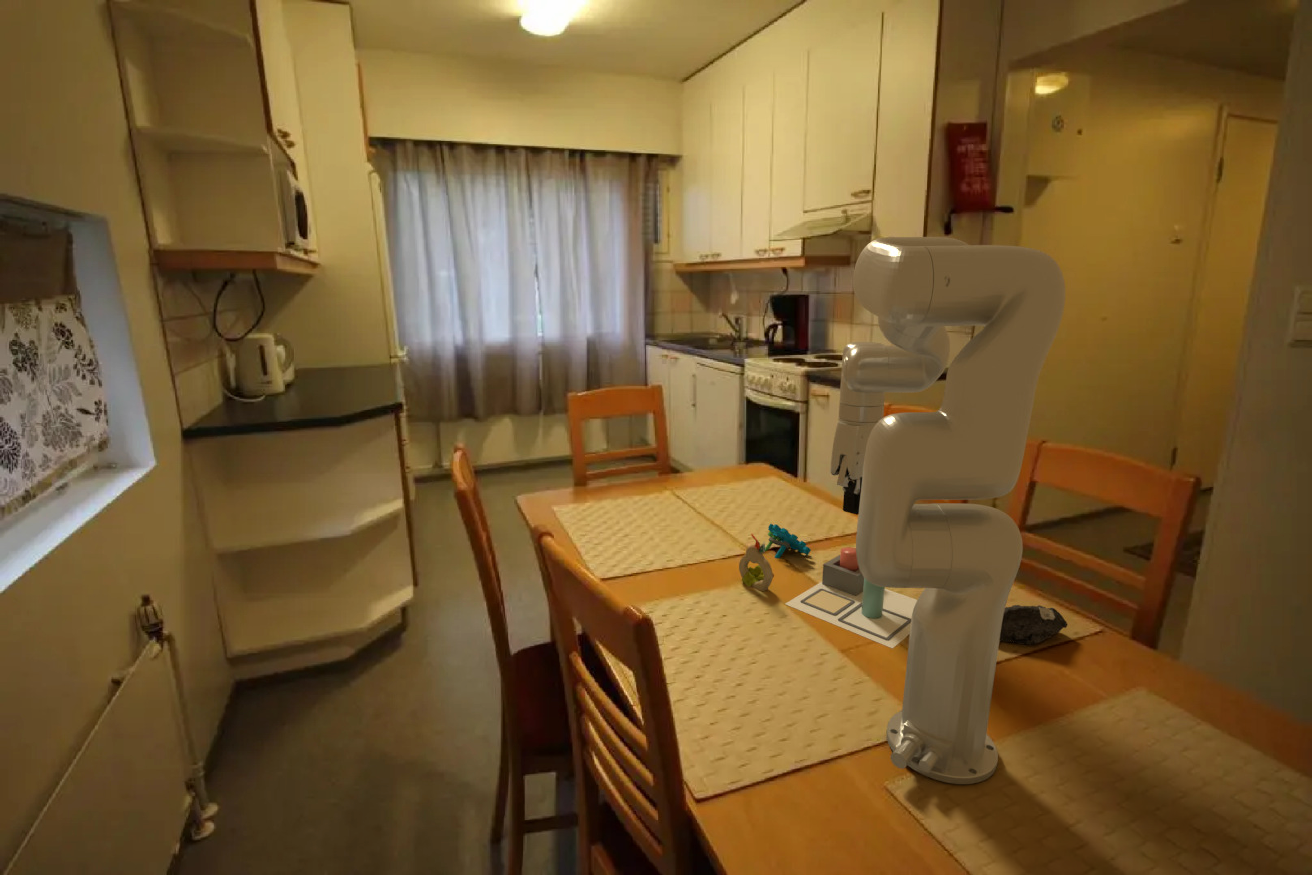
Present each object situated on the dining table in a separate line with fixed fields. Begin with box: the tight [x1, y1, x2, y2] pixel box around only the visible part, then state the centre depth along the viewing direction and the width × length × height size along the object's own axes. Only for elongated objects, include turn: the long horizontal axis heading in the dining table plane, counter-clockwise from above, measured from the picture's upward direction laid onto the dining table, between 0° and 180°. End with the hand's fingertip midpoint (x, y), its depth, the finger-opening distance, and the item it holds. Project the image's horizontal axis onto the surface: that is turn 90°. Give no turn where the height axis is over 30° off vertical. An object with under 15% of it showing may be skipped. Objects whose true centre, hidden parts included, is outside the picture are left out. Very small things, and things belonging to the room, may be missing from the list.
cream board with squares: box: [784, 581, 918, 650], centre depth 114 cm, size 18×20×1 cm
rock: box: [999, 604, 1068, 646], centre depth 105 cm, size 12×8×10 cm
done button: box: [839, 546, 859, 572], centre depth 121 cm, size 4×4×5 cm
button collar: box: [821, 554, 864, 596], centre depth 122 cm, size 7×7×4 cm
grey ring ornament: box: [738, 533, 775, 592], centre depth 122 cm, size 8×8×12 cm
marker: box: [861, 578, 886, 619], centre depth 110 cm, size 4×4×11 cm
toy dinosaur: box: [765, 523, 812, 559], centre depth 135 cm, size 11×6×10 cm
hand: (853, 511), depth 119 cm, fingers closed
